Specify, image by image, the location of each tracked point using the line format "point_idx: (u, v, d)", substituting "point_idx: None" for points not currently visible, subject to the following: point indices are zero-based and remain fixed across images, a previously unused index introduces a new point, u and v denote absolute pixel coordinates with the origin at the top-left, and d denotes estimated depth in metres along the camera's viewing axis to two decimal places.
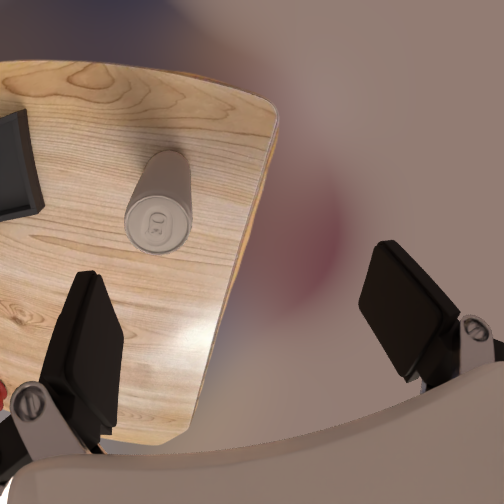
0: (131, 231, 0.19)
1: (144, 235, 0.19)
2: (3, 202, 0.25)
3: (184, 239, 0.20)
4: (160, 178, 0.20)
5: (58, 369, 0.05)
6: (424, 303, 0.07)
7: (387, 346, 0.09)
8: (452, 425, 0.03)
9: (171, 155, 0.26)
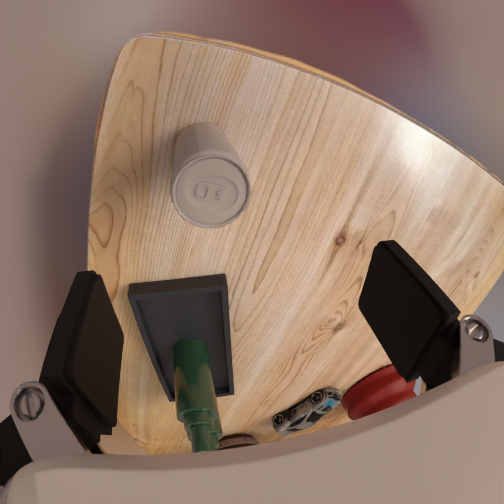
0: (215, 220, 0.18)
1: (222, 207, 0.17)
2: (213, 313, 0.37)
3: (232, 162, 0.16)
4: None
5: (58, 369, 0.05)
6: (424, 303, 0.07)
7: (387, 346, 0.09)
8: (452, 425, 0.03)
9: (175, 146, 0.23)
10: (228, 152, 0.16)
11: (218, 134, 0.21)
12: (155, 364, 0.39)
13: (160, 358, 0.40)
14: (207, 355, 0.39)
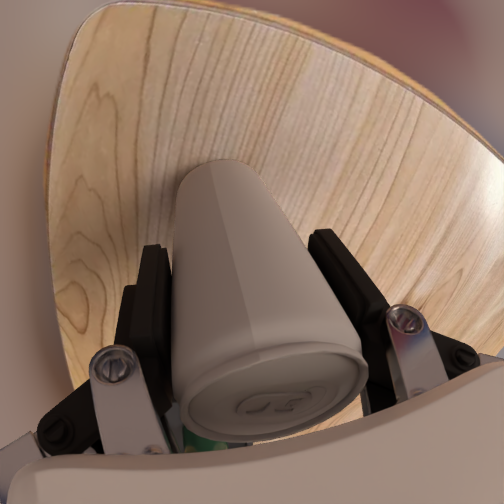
0: (277, 430, 0.07)
1: (296, 414, 0.07)
2: None
3: (343, 353, 0.05)
4: None
5: (146, 329, 0.06)
6: (348, 290, 0.08)
7: None
8: (452, 425, 0.03)
9: (175, 208, 0.13)
10: (327, 315, 0.06)
11: (265, 202, 0.10)
12: None
13: None
14: None
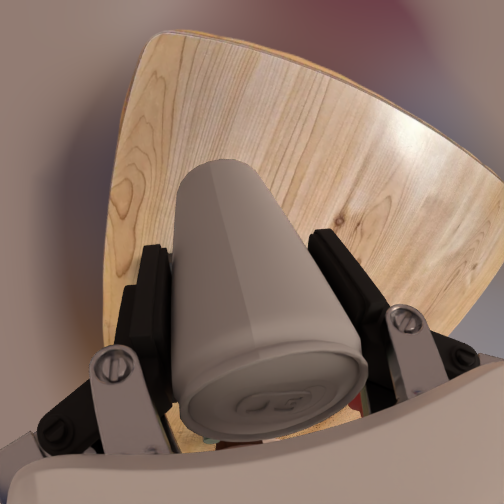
0: (277, 429, 0.07)
1: (296, 414, 0.07)
2: None
3: None
4: None
5: (146, 329, 0.06)
6: (347, 290, 0.08)
7: None
8: (452, 425, 0.03)
9: None
10: (327, 313, 0.06)
11: (265, 201, 0.10)
12: None
13: None
14: None
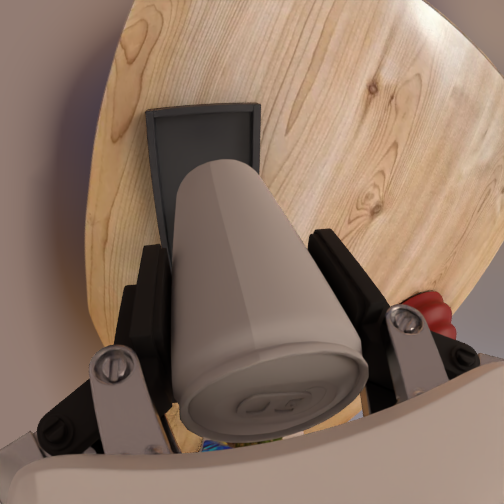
0: (277, 430, 0.07)
1: (296, 414, 0.07)
2: (240, 153, 0.31)
3: (343, 353, 0.05)
4: None
5: (146, 329, 0.06)
6: (347, 290, 0.08)
7: None
8: (452, 425, 0.03)
9: None
10: (327, 315, 0.06)
11: (266, 202, 0.10)
12: (162, 230, 0.33)
13: (169, 227, 0.35)
14: None
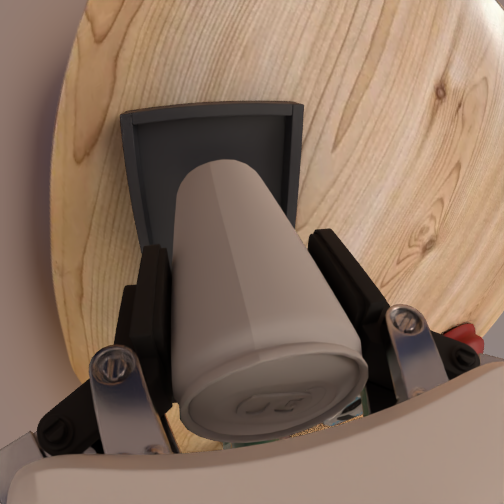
0: (277, 429, 0.07)
1: (296, 415, 0.07)
2: (268, 179, 0.21)
3: (343, 354, 0.05)
4: None
5: (146, 329, 0.06)
6: (347, 290, 0.08)
7: None
8: (452, 425, 0.03)
9: (176, 208, 0.13)
10: (327, 315, 0.06)
11: (266, 202, 0.10)
12: None
13: None
14: None
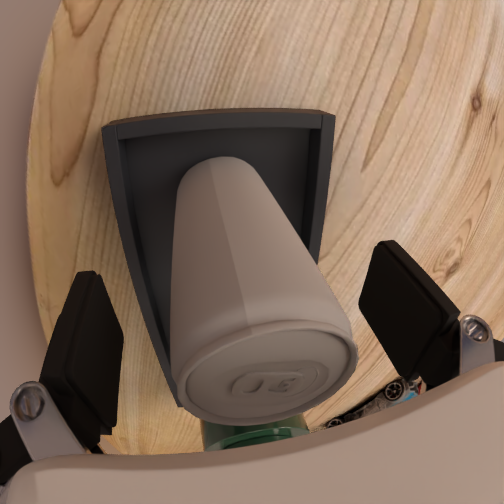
0: (272, 413, 0.08)
1: (290, 397, 0.07)
2: (287, 204, 0.18)
3: (332, 332, 0.06)
4: None
5: (58, 369, 0.05)
6: (424, 303, 0.07)
7: (387, 346, 0.09)
8: (452, 425, 0.03)
9: (176, 203, 0.14)
10: (317, 296, 0.06)
11: (262, 196, 0.11)
12: (152, 330, 0.19)
13: (164, 320, 0.21)
14: None
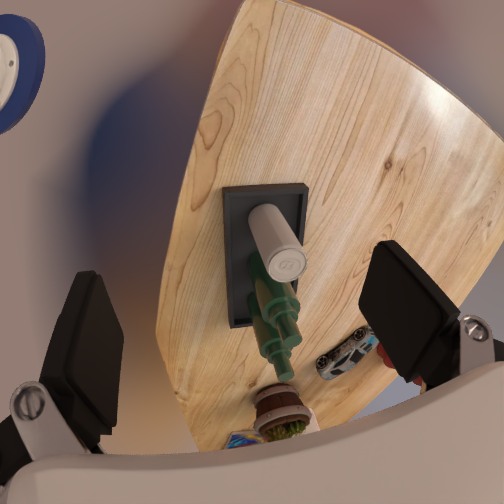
0: (287, 278, 0.34)
1: (292, 272, 0.33)
2: (290, 221, 0.44)
3: (300, 251, 0.32)
4: (261, 251, 0.34)
5: (58, 369, 0.05)
6: (424, 303, 0.07)
7: (387, 346, 0.09)
8: (452, 425, 0.03)
9: (251, 221, 0.40)
10: (297, 245, 0.32)
11: (283, 221, 0.37)
12: (229, 276, 0.45)
13: (233, 273, 0.47)
14: None
